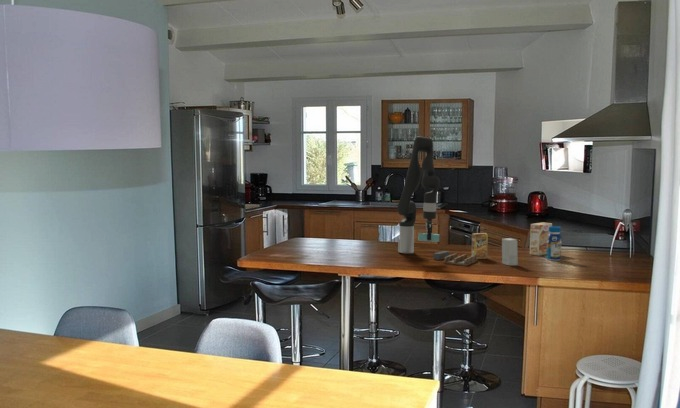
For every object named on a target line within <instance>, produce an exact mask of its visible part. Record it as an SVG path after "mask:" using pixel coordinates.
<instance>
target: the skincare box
mask: <svg viewBox="0 0 680 408" xmlns="http://www.w3.org/2000/svg"><path fill="white" fill-rule="evenodd" d="M518 255H519V253H518V239H516V238H511V237H510V238H509V237H508V238H506V237H505V238H502V239H501V258H502V259H501V264H503V265H507V266H518V261H519V260H518V259H519V258H518Z"/></svg>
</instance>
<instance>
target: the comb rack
mask: <svg viewBox="0 0 680 408" xmlns="http://www.w3.org/2000/svg"><path fill="white" fill-rule="evenodd" d="M443 260H444V261H443V264H447V265H449V264H450V265H454V266H455V265H456V266H466V267H467V266H469V265H471V264H474V263H477V261H478V259H477V255H474V256H469V257H468V253H464V254H462V255H458V252H454V253H453V254H450V255H449V256H447V257H444V259H443Z"/></svg>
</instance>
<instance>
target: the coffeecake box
mask: <svg viewBox="0 0 680 408" xmlns="http://www.w3.org/2000/svg"><path fill="white" fill-rule="evenodd" d="M550 226H553V223H551V222H543V221H541V222H536V223H530V232H529V233H530V234H529V236H530V237H529V255H534V256H539V257H540V256H544V255H547V240H548V239H547V237H548V235H549V233H550V232H549V227H550Z"/></svg>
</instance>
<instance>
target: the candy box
mask: <svg viewBox="0 0 680 408" xmlns="http://www.w3.org/2000/svg"><path fill="white" fill-rule="evenodd" d="M488 237H489V235H488V233H486V232H478V233H477V232H476V233H473V232H472V233H471V256H474V255H477V260H481V259H482V260H483V259H484V260H485V259H488V242H489V241H488V240H489V239H488ZM471 256H470V257H471Z"/></svg>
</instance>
